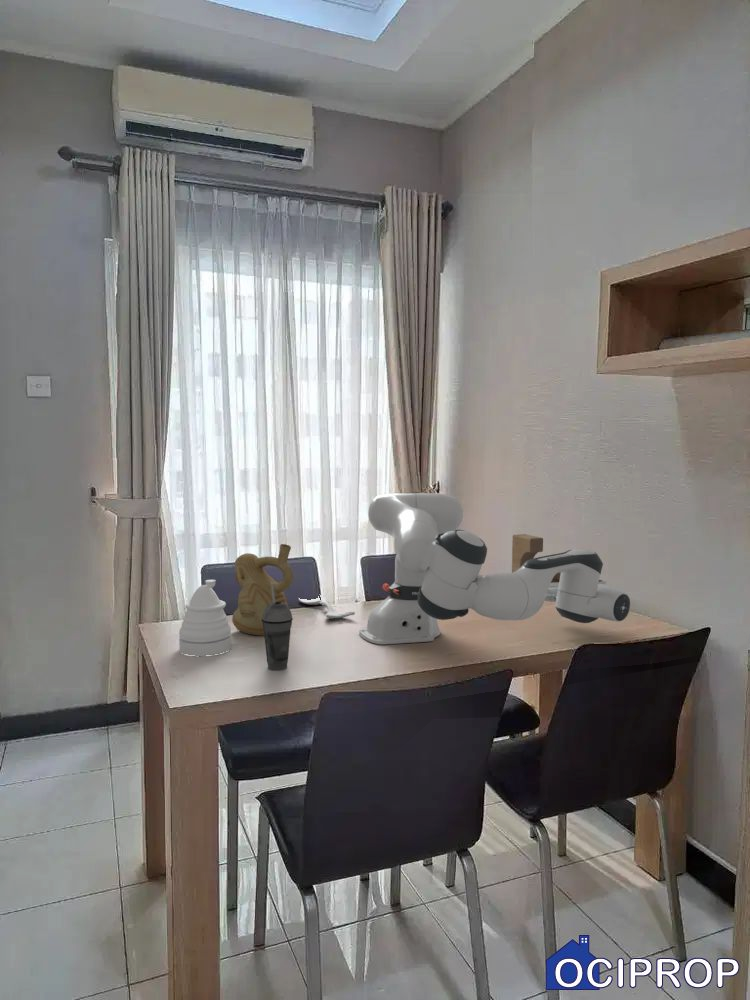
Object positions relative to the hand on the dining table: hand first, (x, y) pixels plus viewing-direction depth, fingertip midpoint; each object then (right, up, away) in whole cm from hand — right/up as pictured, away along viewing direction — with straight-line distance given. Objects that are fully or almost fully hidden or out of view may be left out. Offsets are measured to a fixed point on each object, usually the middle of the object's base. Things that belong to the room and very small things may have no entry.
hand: (549, 584), depth 201 cm
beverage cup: (-74, -15, -39) cm, 85 cm away
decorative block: (+2, -8, +42) cm, 43 cm away
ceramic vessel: (-83, -12, -8) cm, 84 cm away
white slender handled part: (-67, -11, +15) cm, 70 cm away
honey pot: (-95, -14, -25) cm, 99 cm away
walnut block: (0, +6, -2) cm, 6 cm away
